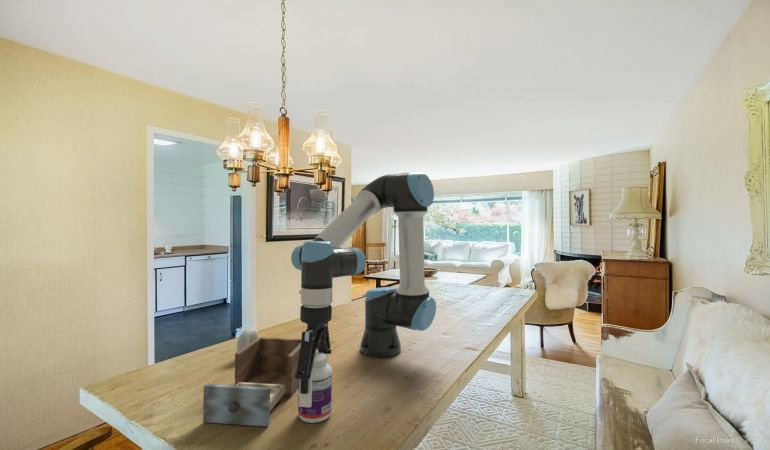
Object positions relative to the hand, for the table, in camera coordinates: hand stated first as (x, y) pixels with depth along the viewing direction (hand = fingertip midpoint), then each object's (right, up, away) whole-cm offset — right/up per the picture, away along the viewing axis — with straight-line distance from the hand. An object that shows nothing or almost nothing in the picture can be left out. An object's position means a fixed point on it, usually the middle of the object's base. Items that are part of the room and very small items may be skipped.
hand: (314, 392), depth 84 cm
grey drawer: (-17, -5, +2) cm, 18 cm away
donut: (-31, -6, +36) cm, 48 cm away
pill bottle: (0, -6, 0) cm, 6 cm away
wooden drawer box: (-15, -6, +17) cm, 24 cm away
